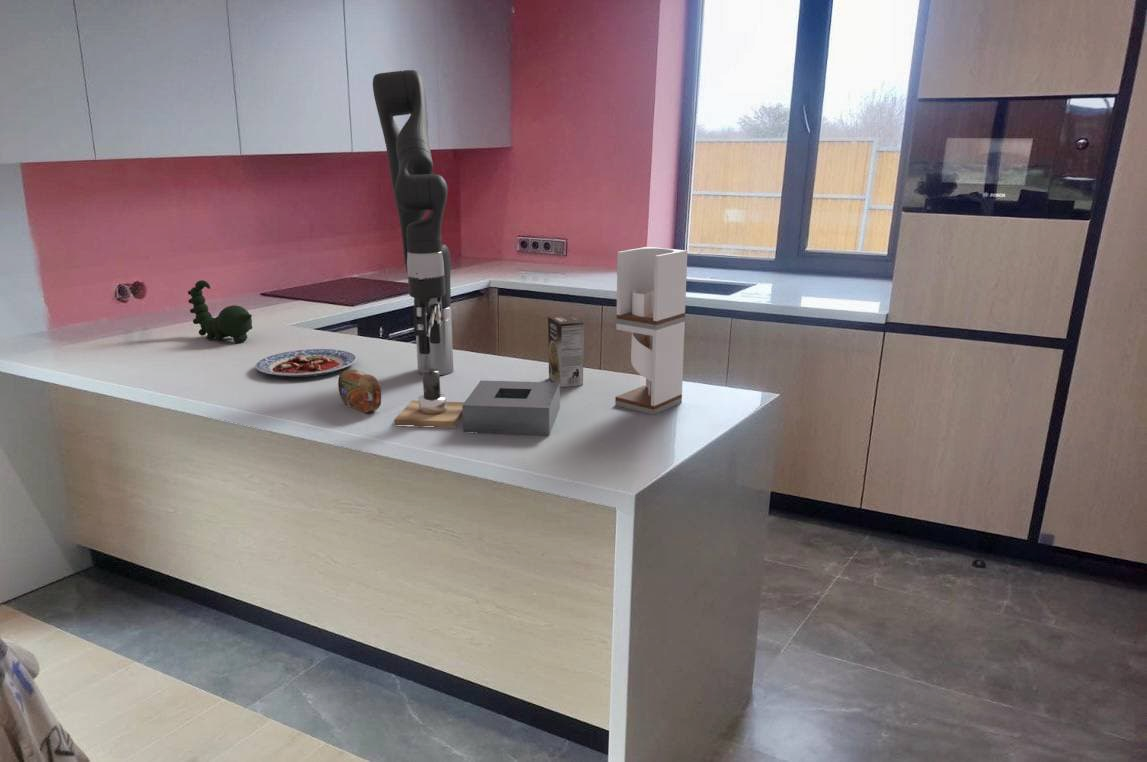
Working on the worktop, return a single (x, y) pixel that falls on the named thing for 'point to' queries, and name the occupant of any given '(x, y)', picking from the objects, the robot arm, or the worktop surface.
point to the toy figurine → (219, 318)
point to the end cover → (432, 394)
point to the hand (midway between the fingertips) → (430, 348)
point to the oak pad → (430, 416)
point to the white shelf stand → (653, 323)
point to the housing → (512, 408)
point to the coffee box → (565, 350)
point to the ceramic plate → (306, 362)
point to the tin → (359, 390)
